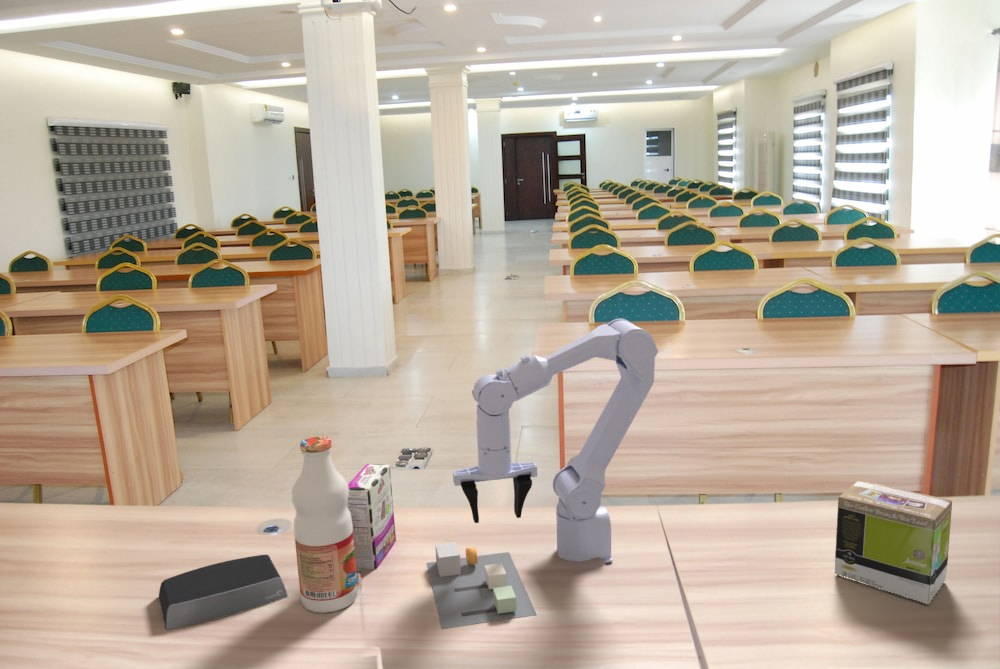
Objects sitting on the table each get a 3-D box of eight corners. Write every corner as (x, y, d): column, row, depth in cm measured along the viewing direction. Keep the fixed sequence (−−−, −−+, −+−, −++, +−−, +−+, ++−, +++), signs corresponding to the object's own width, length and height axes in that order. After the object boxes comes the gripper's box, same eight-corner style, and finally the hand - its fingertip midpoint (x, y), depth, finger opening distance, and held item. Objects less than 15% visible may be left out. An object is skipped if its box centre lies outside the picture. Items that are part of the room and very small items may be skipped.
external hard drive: (289, 601, 136) (287, 579, 135) (166, 635, 127) (163, 612, 126) (272, 567, 147) (270, 547, 146) (158, 597, 139) (155, 575, 138)
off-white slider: (502, 576, 138) (501, 563, 137) (506, 586, 134) (506, 573, 134) (485, 578, 137) (484, 565, 137) (488, 589, 134) (488, 576, 133)
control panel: (508, 557, 147) (508, 533, 146) (537, 620, 127) (536, 594, 126) (426, 567, 144) (425, 544, 143) (442, 634, 124) (440, 607, 123)
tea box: (946, 582, 134) (955, 499, 131) (928, 607, 127) (936, 520, 123) (853, 554, 144) (859, 476, 141) (832, 576, 137) (837, 495, 134)
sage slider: (511, 599, 131) (511, 585, 130) (516, 611, 127) (516, 597, 127) (493, 601, 130) (492, 588, 130) (497, 613, 127) (497, 599, 126)
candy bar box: (372, 543, 154) (366, 462, 150) (397, 545, 153) (391, 463, 149) (350, 573, 143) (342, 486, 140) (376, 575, 142) (370, 488, 139)
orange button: (474, 558, 144) (474, 544, 143) (477, 566, 141) (477, 551, 141) (466, 560, 144) (465, 545, 143) (468, 567, 141) (468, 553, 140)
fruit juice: (296, 592, 138) (280, 437, 131) (350, 579, 141) (337, 427, 135) (307, 620, 129) (291, 455, 123) (364, 605, 133) (352, 444, 127)
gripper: (529, 432, 144) (531, 503, 147) (449, 441, 141) (452, 513, 144) (539, 446, 137) (541, 520, 140) (455, 455, 134) (458, 530, 137)
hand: (496, 518), depth 142 cm, fingers open, 7 cm apart
